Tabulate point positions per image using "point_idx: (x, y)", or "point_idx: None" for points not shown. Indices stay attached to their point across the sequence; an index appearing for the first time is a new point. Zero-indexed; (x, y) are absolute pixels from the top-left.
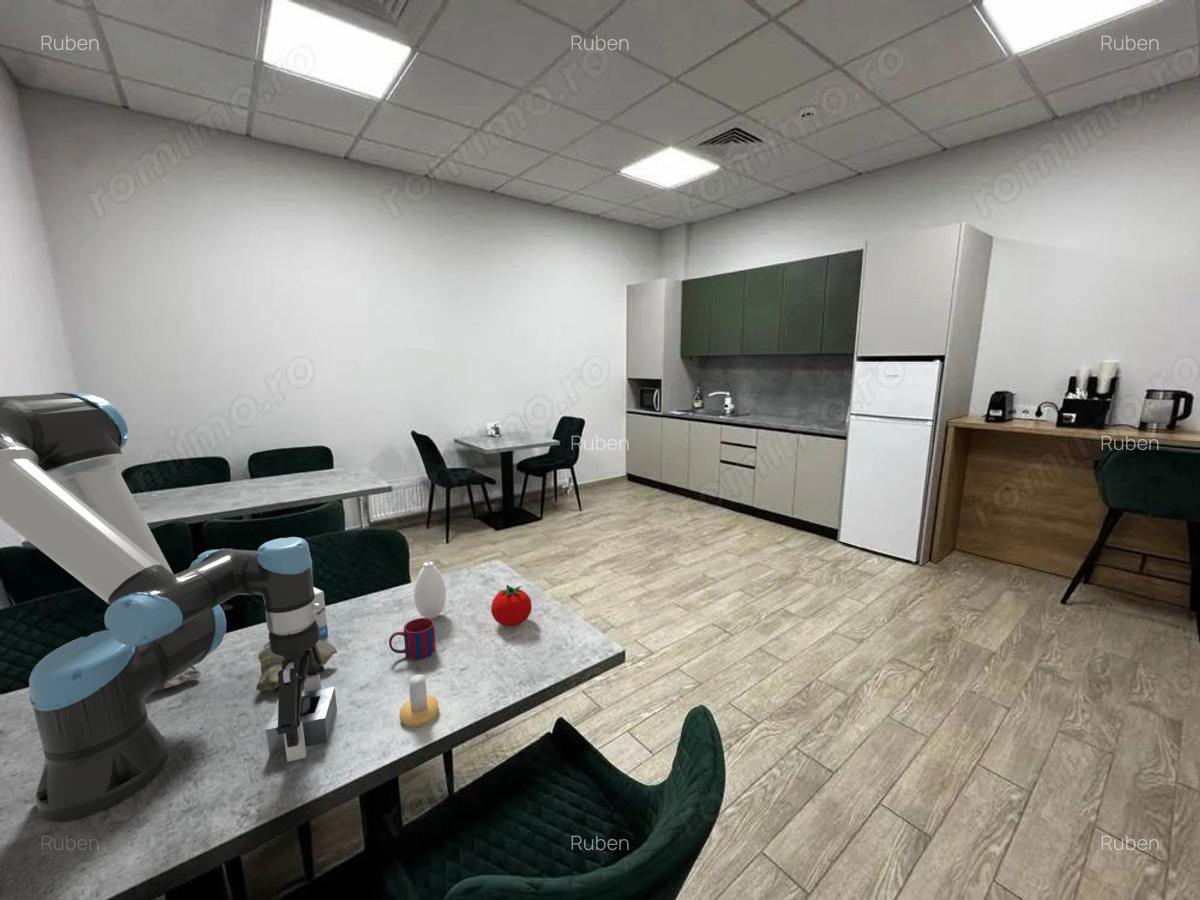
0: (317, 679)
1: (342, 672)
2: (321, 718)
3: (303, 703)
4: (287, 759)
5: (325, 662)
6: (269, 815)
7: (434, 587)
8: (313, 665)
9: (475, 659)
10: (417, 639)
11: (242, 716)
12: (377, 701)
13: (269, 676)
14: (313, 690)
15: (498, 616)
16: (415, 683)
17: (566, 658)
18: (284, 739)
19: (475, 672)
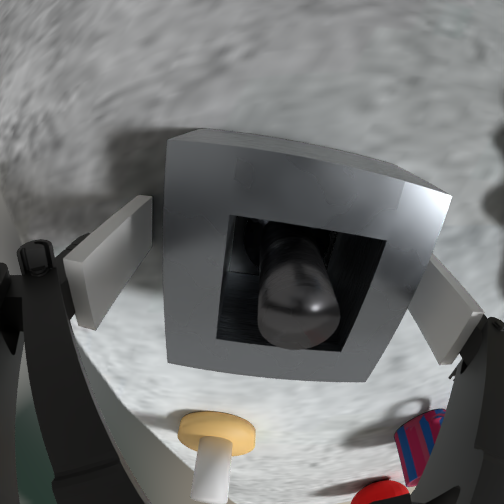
0: (437, 349)
1: (488, 312)
2: (169, 354)
3: (264, 329)
4: (135, 198)
5: None
6: (5, 186)
7: None
8: (433, 447)
9: (327, 471)
10: (410, 466)
11: (471, 48)
12: (312, 388)
13: None
14: (426, 301)
15: (372, 501)
16: (194, 497)
17: (257, 501)
18: (96, 230)
19: (292, 471)
